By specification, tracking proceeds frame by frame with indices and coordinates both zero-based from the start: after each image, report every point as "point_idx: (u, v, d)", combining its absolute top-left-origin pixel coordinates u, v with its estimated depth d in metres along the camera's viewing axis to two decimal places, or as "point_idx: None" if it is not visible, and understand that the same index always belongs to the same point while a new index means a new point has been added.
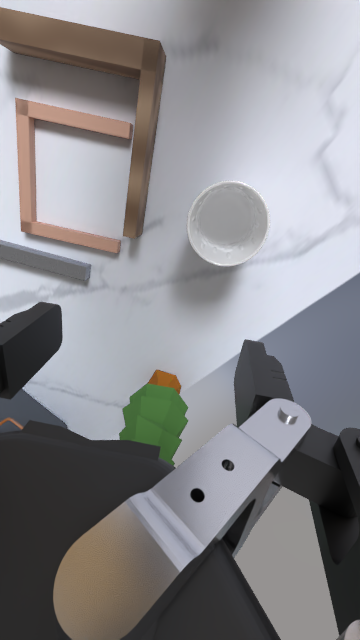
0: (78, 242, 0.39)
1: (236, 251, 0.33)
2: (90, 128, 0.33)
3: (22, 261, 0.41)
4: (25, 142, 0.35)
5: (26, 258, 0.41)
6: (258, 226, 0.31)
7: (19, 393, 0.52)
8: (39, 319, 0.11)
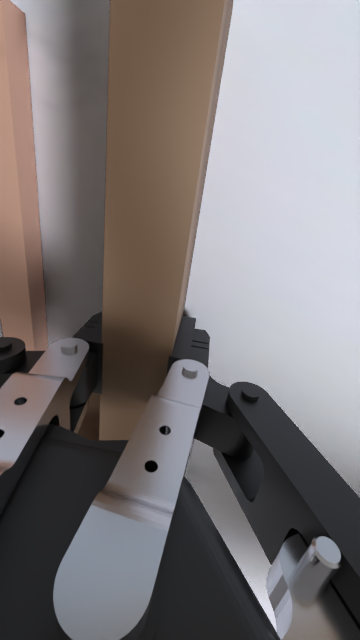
0: None
1: None
2: None
3: None
4: None
5: None
6: None
7: None
8: None
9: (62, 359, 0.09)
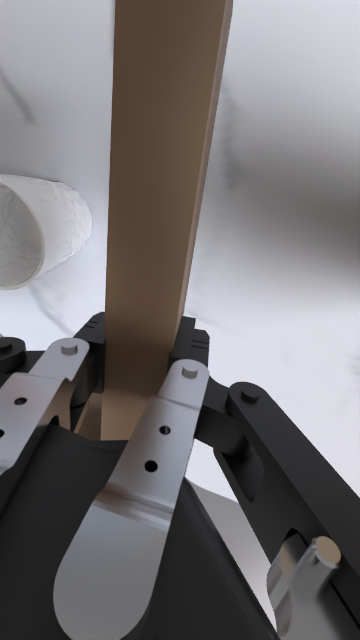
0: None
1: None
2: None
3: None
4: None
5: None
6: (28, 269, 0.25)
7: None
8: None
9: (62, 359, 0.09)
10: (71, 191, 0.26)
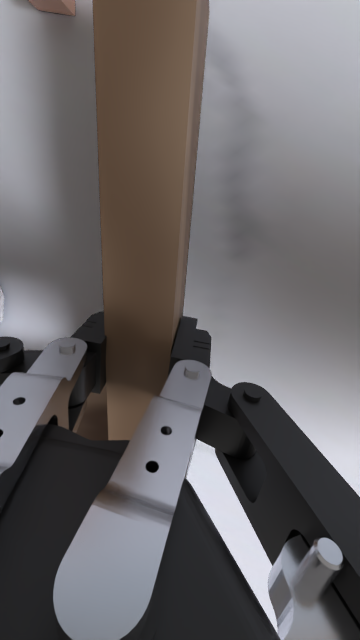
0: None
1: None
2: None
3: None
4: None
5: None
6: None
7: None
8: None
9: (60, 359, 0.09)
10: None
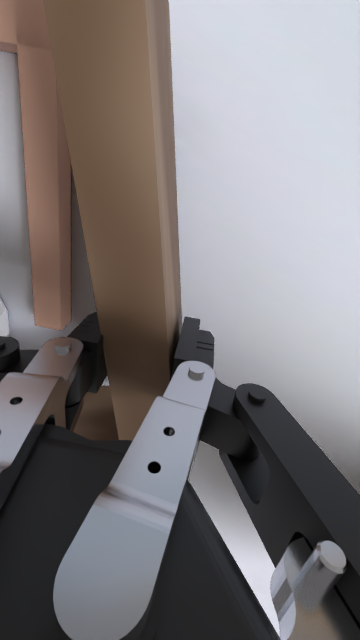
0: None
1: None
2: (32, 243, 0.14)
3: None
4: None
5: None
6: None
7: None
8: None
9: (55, 358, 0.09)
10: None
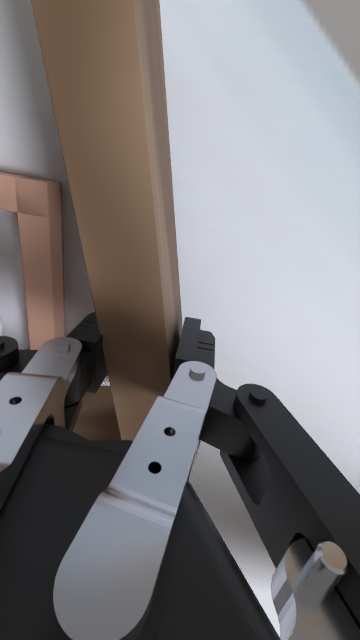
0: None
1: None
2: (32, 348, 0.17)
3: None
4: None
5: None
6: None
7: None
8: None
9: (54, 358, 0.09)
10: None
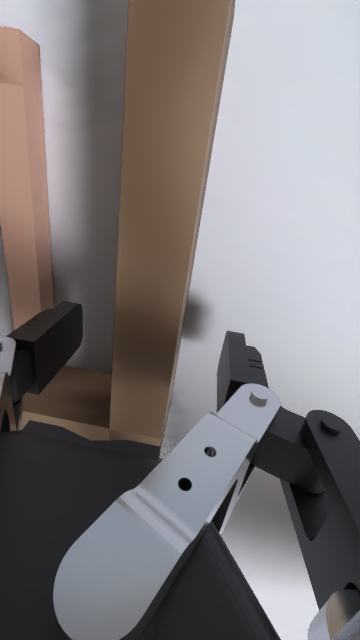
0: None
1: None
2: (10, 281, 0.13)
3: None
4: None
5: None
6: None
7: None
8: (64, 317, 0.11)
9: None
10: None
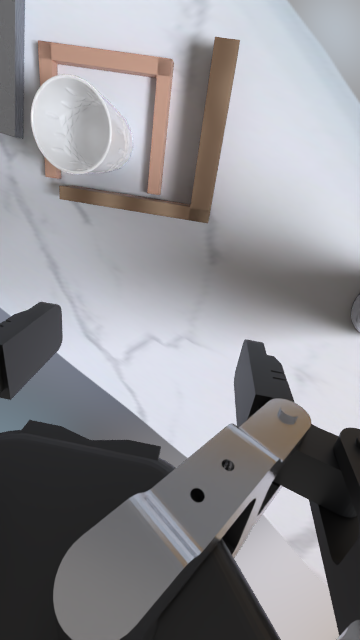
0: None
1: (68, 158, 0.32)
2: (151, 152, 0.35)
3: (1, 37, 0.32)
4: (133, 65, 0.32)
5: (6, 45, 0.32)
6: None
7: None
8: (39, 319, 0.11)
9: None
10: None
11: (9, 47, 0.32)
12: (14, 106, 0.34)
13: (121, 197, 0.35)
